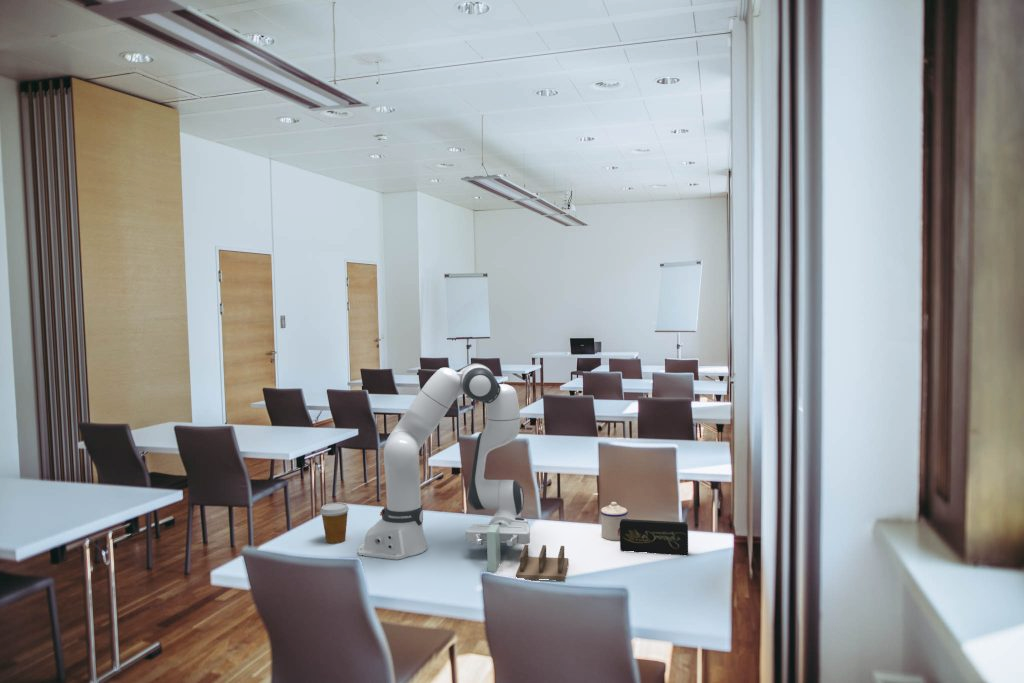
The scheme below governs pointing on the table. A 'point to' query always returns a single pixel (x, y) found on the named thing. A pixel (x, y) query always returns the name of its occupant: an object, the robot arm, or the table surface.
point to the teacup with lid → (612, 520)
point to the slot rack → (542, 566)
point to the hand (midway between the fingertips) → (494, 543)
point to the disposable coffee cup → (335, 521)
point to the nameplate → (654, 536)
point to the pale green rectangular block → (493, 547)
